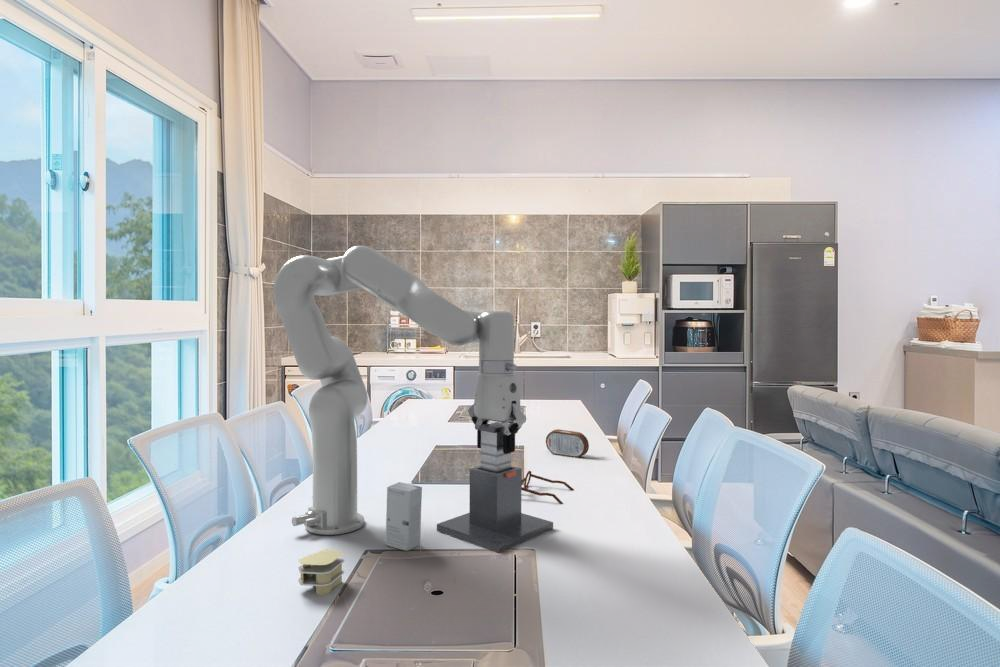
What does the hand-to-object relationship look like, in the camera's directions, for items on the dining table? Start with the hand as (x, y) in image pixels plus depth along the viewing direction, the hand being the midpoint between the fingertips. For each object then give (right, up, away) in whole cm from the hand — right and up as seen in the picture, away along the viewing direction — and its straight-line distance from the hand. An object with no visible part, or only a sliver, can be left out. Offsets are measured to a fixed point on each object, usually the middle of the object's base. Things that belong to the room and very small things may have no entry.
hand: (495, 449), depth 131 cm
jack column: (0, -16, 0) cm, 16 cm away
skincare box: (-19, -18, -8) cm, 27 cm away
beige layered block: (-30, -19, -27) cm, 45 cm away
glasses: (+13, -18, +27) cm, 35 cm away
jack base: (0, -18, +1) cm, 18 cm away
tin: (+23, -16, +71) cm, 76 cm away
